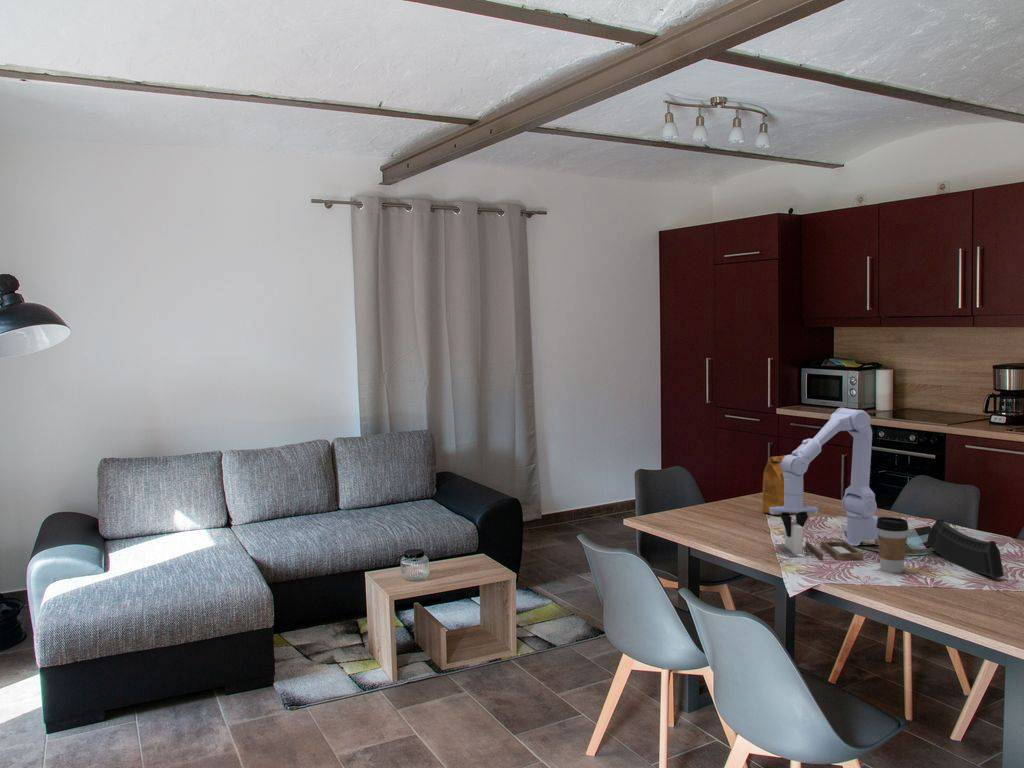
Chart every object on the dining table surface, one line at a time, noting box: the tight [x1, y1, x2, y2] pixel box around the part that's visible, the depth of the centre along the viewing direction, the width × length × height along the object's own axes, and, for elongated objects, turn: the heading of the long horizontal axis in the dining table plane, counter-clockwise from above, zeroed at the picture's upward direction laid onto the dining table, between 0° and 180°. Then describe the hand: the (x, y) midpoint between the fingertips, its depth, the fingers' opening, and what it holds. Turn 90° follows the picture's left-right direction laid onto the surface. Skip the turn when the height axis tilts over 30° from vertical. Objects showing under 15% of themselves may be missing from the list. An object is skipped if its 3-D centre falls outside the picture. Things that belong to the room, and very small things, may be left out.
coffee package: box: [762, 454, 788, 516], centre depth 308 cm, size 10×12×22 cm
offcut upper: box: [832, 547, 851, 553], centre depth 254 cm, size 3×7×1 cm, turn 2°
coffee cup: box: [876, 516, 909, 574], centre depth 236 cm, size 8×8×15 cm
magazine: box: [926, 518, 1005, 578], centre depth 239 cm, size 17×3×30 cm
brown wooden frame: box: [804, 540, 864, 562], centre depth 254 cm, size 13×14×2 cm
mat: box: [775, 543, 813, 558], centre depth 258 cm, size 7×14×1 cm, turn 179°
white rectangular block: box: [784, 519, 804, 555], centre depth 258 cm, size 2×10×8 cm, turn 179°
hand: (793, 536), depth 258 cm, fingers closed on white rectangular block, 2 cm apart
